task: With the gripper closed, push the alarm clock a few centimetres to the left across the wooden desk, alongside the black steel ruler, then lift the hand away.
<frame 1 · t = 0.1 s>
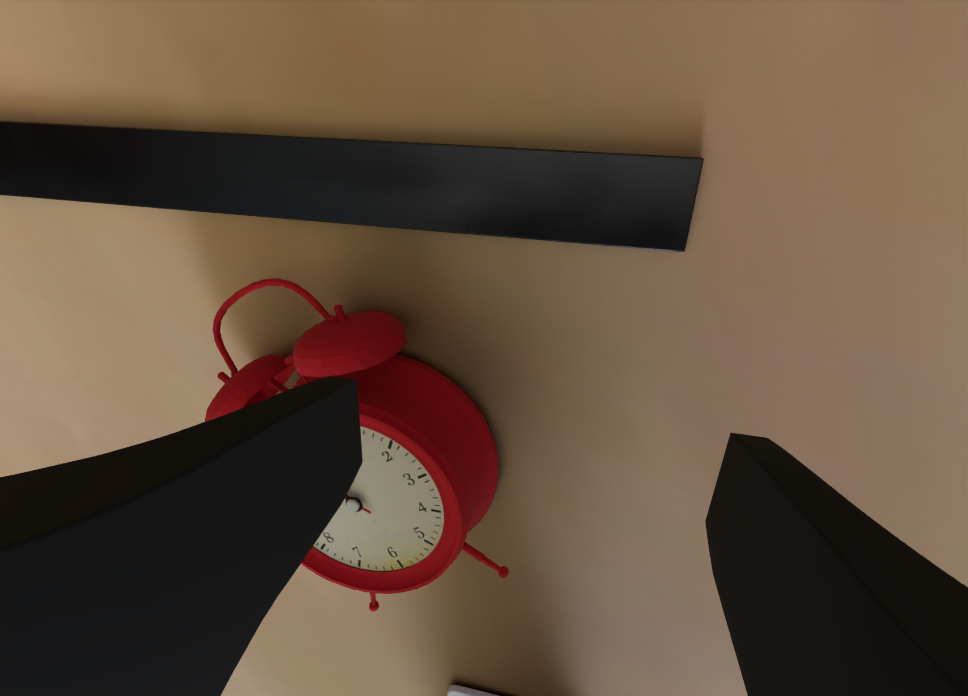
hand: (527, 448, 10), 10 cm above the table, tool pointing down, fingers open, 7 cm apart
alarm clock: (372, 418, 23), on the table
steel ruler: (284, 177, 19), on the table
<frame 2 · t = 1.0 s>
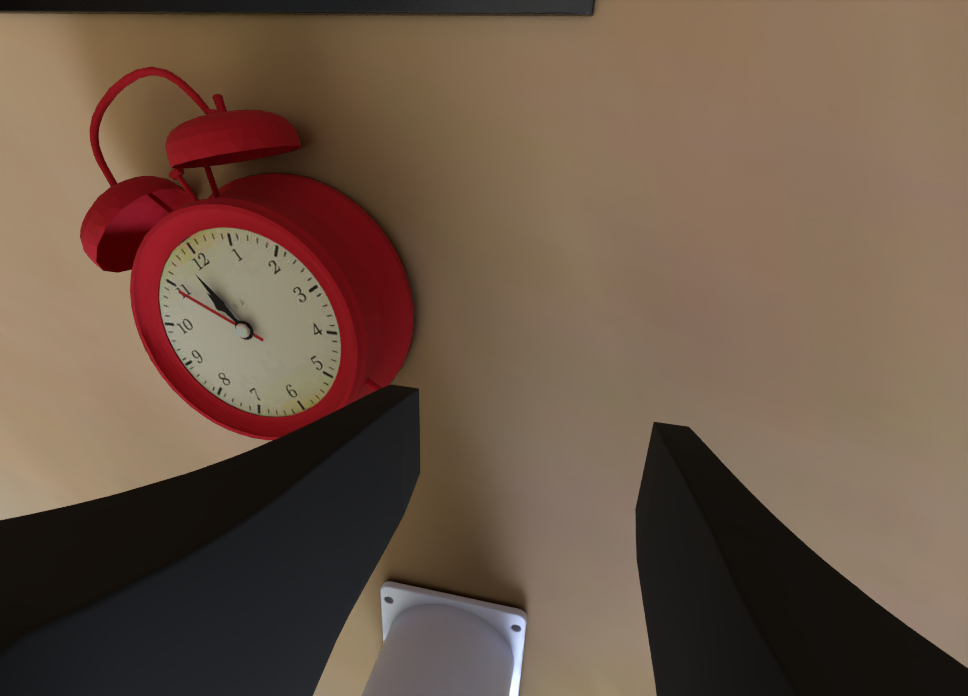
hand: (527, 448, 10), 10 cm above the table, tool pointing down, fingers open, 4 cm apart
alarm clock: (281, 264, 21), on the table
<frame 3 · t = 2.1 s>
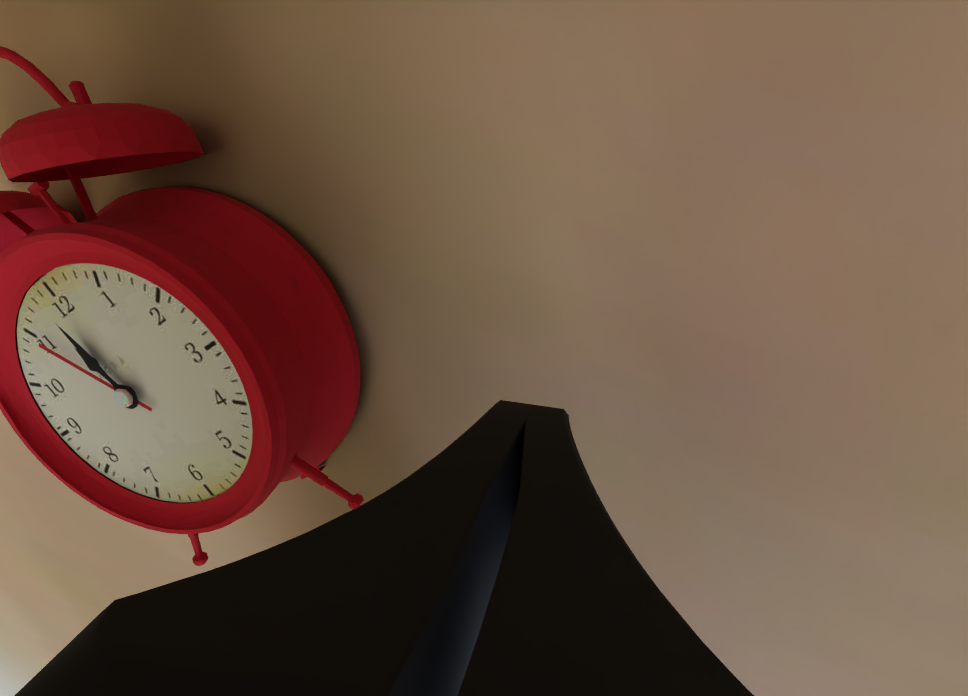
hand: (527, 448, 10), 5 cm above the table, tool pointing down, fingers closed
alarm clock: (196, 300, 17), on the table
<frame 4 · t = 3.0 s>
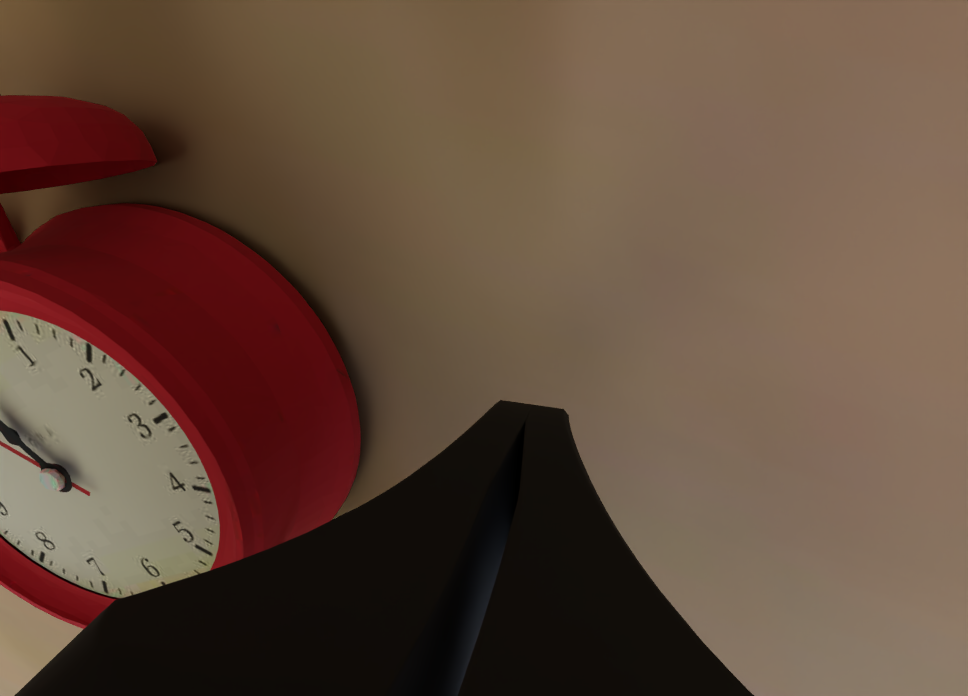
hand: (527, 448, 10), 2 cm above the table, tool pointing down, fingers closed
alarm clock: (159, 340, 14), on the table
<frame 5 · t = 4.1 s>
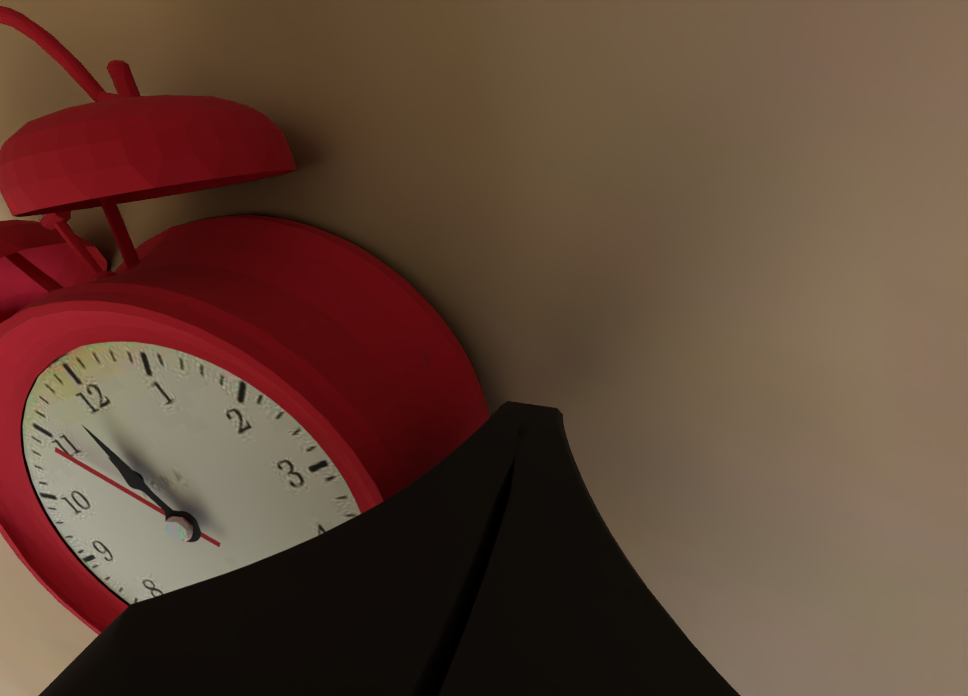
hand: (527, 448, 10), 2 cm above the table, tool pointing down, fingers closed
alarm clock: (262, 362, 13), on the table, touching gripper
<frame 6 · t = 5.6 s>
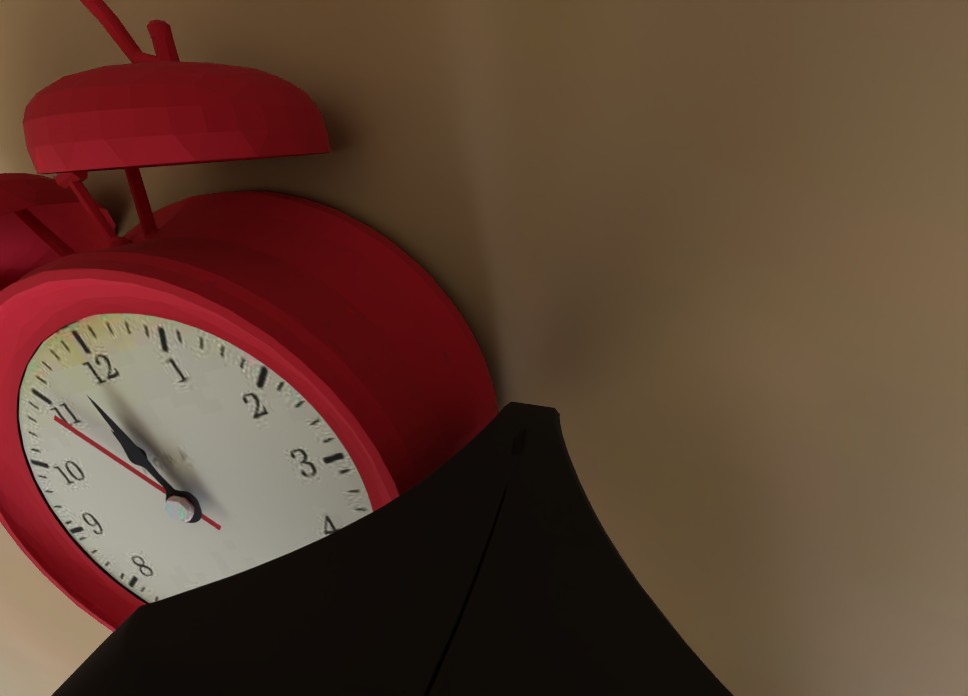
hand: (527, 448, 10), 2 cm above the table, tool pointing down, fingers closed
alarm clock: (268, 343, 12), on the table, touching gripper
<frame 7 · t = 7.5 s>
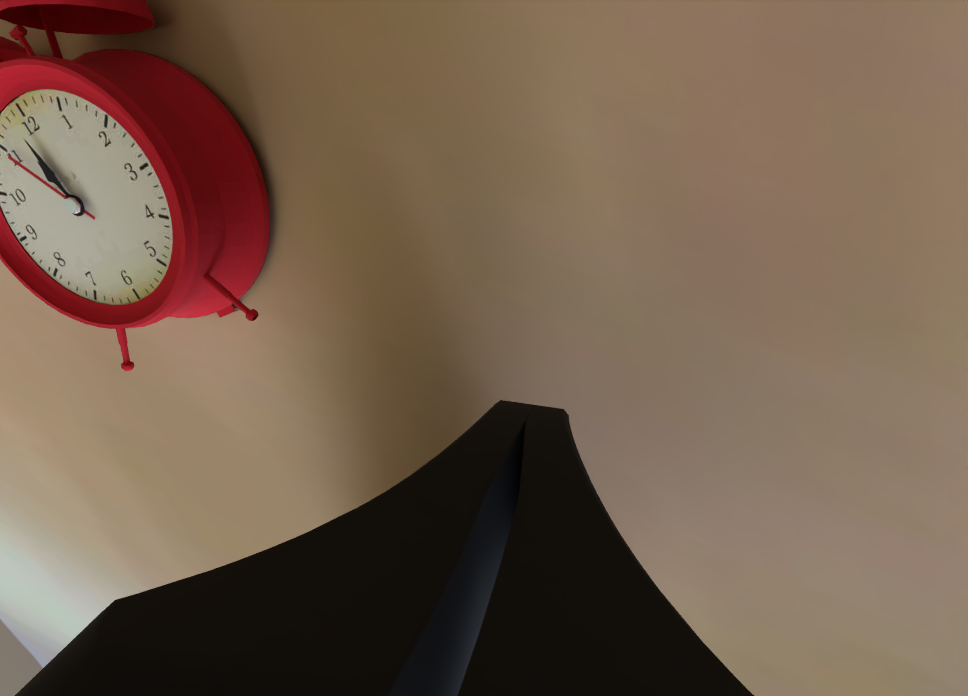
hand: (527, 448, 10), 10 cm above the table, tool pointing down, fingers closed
alarm clock: (143, 154, 21), on the table
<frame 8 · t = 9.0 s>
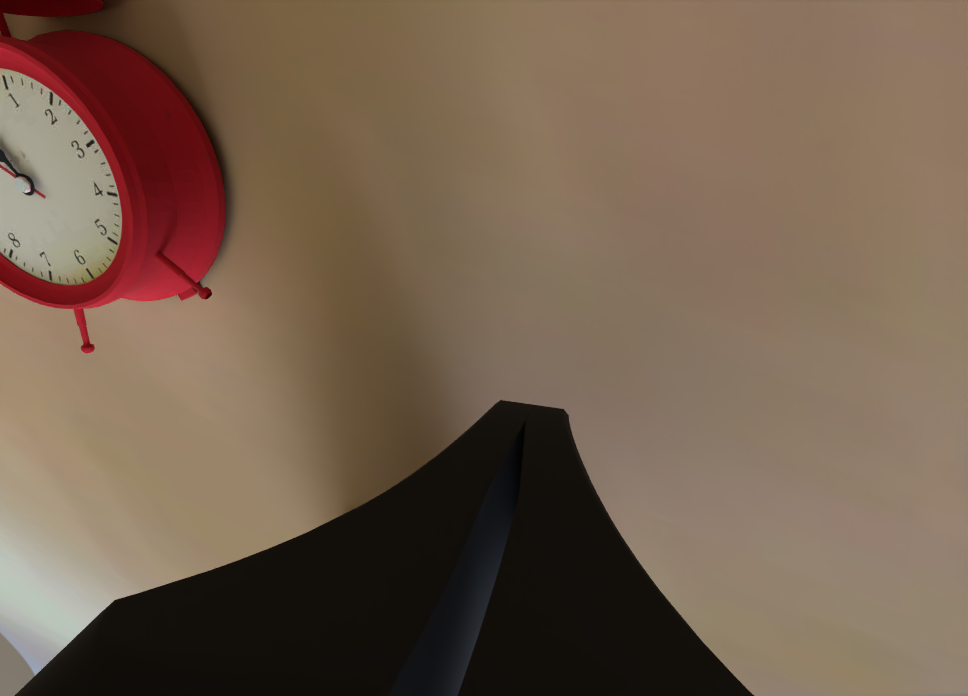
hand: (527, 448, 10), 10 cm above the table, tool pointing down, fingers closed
alarm clock: (100, 138, 21), on the table
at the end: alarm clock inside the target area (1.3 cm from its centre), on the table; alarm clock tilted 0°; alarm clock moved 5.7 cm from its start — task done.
